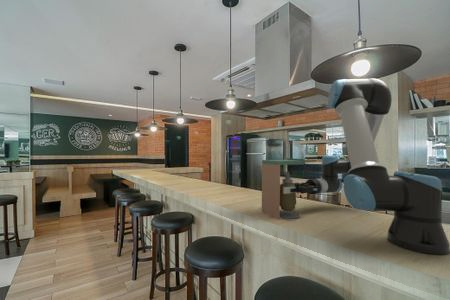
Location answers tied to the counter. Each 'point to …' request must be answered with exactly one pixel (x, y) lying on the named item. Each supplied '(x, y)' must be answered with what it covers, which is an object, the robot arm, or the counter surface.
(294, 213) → the coaster
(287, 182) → the squeeze bottle
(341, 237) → the counter surface
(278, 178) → the green-topped pedestal
